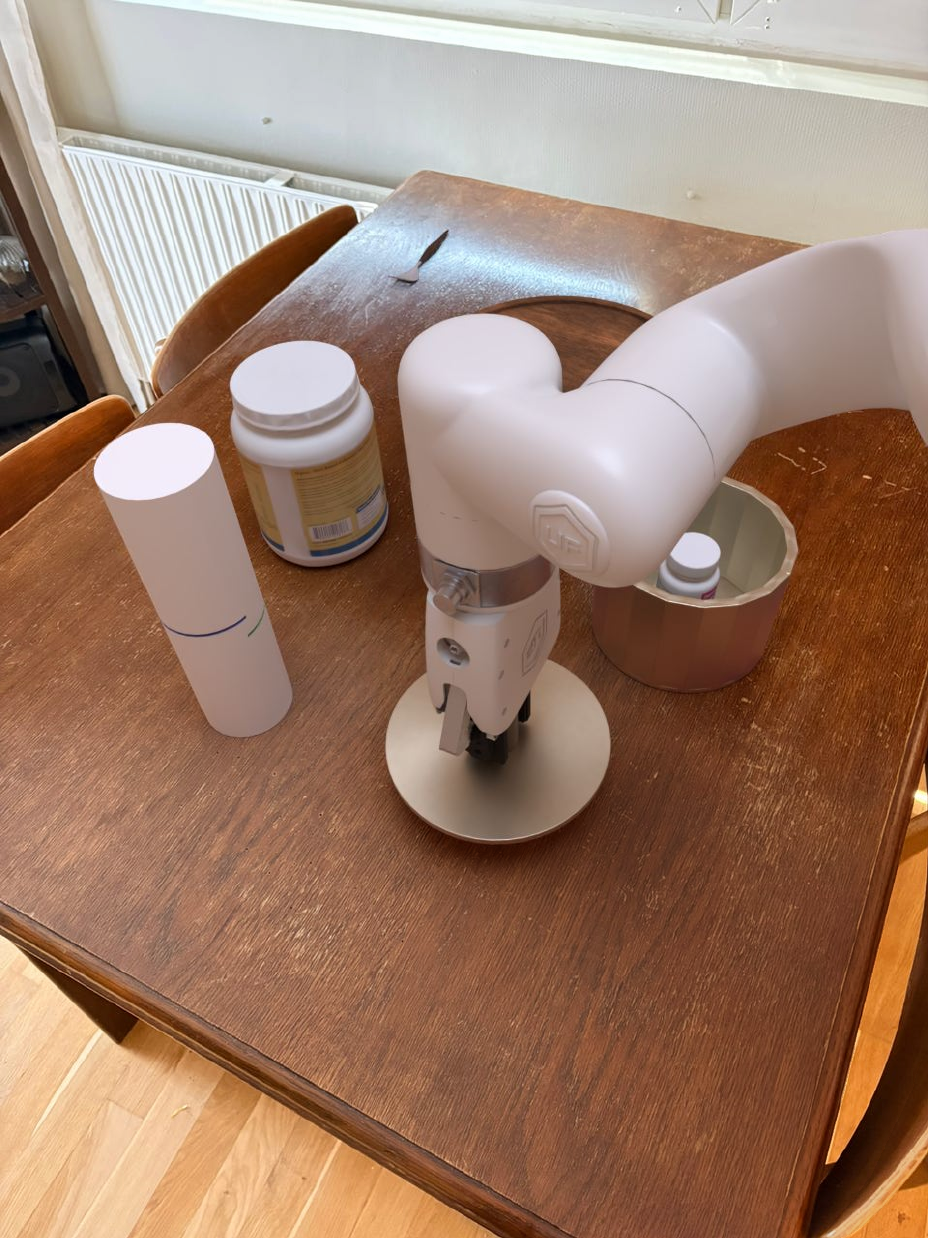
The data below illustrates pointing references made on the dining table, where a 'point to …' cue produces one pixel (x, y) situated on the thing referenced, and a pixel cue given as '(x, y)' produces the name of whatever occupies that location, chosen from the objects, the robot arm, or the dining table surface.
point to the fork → (421, 260)
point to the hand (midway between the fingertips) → (496, 732)
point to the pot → (705, 601)
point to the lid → (528, 781)
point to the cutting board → (576, 329)
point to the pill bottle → (691, 568)
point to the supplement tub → (309, 452)
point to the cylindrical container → (197, 572)
